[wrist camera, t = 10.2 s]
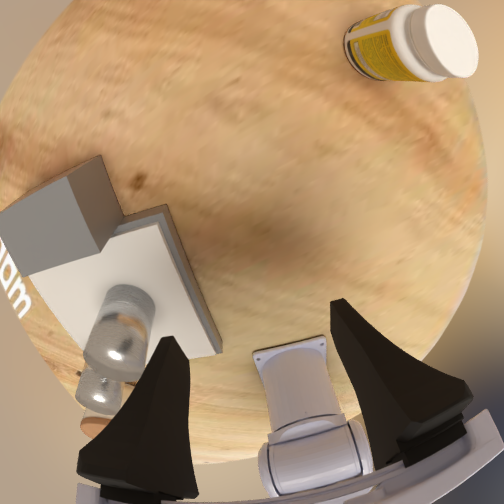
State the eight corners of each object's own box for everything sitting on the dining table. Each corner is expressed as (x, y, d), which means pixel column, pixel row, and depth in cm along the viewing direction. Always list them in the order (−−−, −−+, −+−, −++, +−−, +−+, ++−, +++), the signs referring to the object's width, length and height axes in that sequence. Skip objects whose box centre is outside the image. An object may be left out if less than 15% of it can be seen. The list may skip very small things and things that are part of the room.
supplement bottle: (392, 90, 15) (477, 102, 8) (336, 66, 14) (413, 57, 7) (402, 38, 13) (485, 31, 6) (348, 11, 12) (421, -21, 5)
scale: (222, 341, 27) (223, 382, 22) (101, 357, 27) (91, 391, 23) (144, 137, 16) (119, 152, 12) (5, 205, 16) (-28, 232, 12)
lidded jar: (111, 407, 34) (104, 457, 26) (78, 370, 28) (61, 429, 20) (173, 410, 35) (171, 465, 27) (147, 372, 29) (139, 442, 21)
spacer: (164, 319, 22) (155, 379, 17) (121, 326, 22) (106, 382, 17) (141, 279, 19) (122, 340, 14) (96, 289, 19) (71, 346, 14)
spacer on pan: (137, 366, 25) (128, 415, 20) (104, 368, 25) (93, 414, 20) (115, 339, 23) (101, 392, 17) (82, 343, 23) (66, 391, 18)
